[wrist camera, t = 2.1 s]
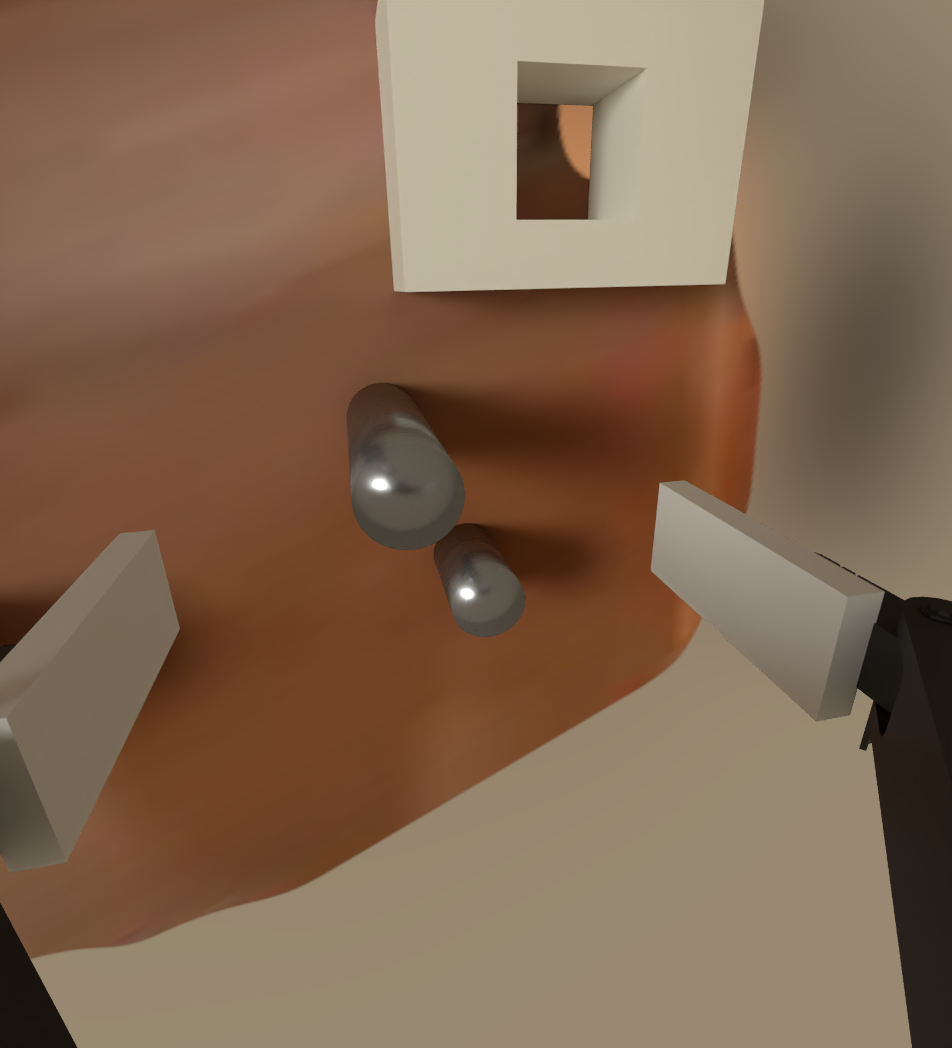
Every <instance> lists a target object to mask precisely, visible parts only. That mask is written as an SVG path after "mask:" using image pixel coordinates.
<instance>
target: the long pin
mask: <svg viewBox="0 0 952 1048" xmlns="http://www.w3.org/2000/svg"><path fill="white" fill-rule="evenodd" d="M347 431H348V448H349V465H350V482H351V499H352V508H353V512H354V515H355V518H356V520H357V522H358V524H359V525H360V527H361V528H362V530H363V531H364V532H365V533H366V534H367V535H368V536H369V537H370V538H372V539H373V540H374V541H376V542H378V543H379V544H381V545H384V546H386V547H389V548H393V549H398V550H414V549H420V548H423V547H427V546H429V545H432V544H434V543H435V542H437V541H439V540H440V539H442V538H443V537H444V536H446V535H447V534H448V533H449V532H450V531H451V530H452V528H453V527H454V526H455V524H456V523H457V521H458V520H459V517H460V515H461V513H462V510H463V506H464V500H465V491H464V484H463V480H462V477H461V475H460V473H459V471H458V469H457V467H456V466H455V464H454V463H453V461H452V460H451V458H450V456H449V455H448V453H447V452H446V450H445V449H444V447H443V446H442V444H441V443H440V441H439V439H438V438H437V436H436V435H435V433H434V432H433V430H432V429H431V427H430V425H429V424H428V422H427V421H426V419H425V418H424V416H423V415H422V413H421V411H420V410H419V408H418V407H417V405H416V404H415V402H414V401H413V399H412V398H411V396H410V395H409V394H408V393H407V392H406V391H404V390H403V389H401V388H400V387H398V386H395V385H393V384H388V383H376V384H372V385H369V386H366V387H365V388H363V389H361V390H360V391H359V392H358V393H357V394H356V395H355V396H354V397H353V399H352V400H351V402H350V404H349V407H348V411H347Z"/></svg>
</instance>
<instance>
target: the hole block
mask: <svg viewBox="0 0 952 1048" xmlns="http://www.w3.org/2000/svg"><path fill="white" fill-rule="evenodd" d="M763 6H764V0H378V4H377V11H376V19H375V29H376V43H377V57H378V71H379V85H380V99H381V114H382V128H383V142H384V156H385V170H386V185H387V199H388V213H389V227H390V241H391V256H392V270H393V284H394V291H400V292H429V291H469V290H509V289H549V288H588V287H628V286H668V285H708V284H725V283H726V275H727V268H728V261H729V254H730V246H731V239H732V232H733V223H734V216H735V210H736V203H737V195H738V187H739V181H740V173H741V166H742V159H743V152H744V144H745V137H746V130H747V123H748V115H749V108H750V101H751V93H752V85H753V79H754V72H755V64H756V57H757V49H758V42H759V35H760V27H761V21H762V13H763ZM517 103H538V104H563V105H590V106H593V122H592V142H591V143H592V144H591V162H590V163H591V164H590V183H589V203H588V220H516V202H517Z"/></svg>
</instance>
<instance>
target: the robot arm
mask: <svg viewBox="0 0 952 1048" xmlns="http://www.w3.org/2000/svg"><path fill="white" fill-rule="evenodd" d="M651 571H652V572H653V573H654V574H655V575H656V576H657V577H658V578H659V579H661V580H662V581H663V582H664V583H665V584H666V585H667V586H668V587H669V588H670V589H672V590H673V591H674V592H675V593H676V594H677V595H678V596H679V597H680V598H681V599H682V600H684V601H685V602H686V603H687V604H688V605H689V606H690V607H691V608H692V609H693V610H695V611H696V612H697V613H698V614H699V615H700V616H701V617H702V618H703V619H704V620H706V621H707V622H708V623H709V624H710V625H711V626H712V627H713V628H714V629H716V631H718V632H719V633H720V634H721V635H722V636H723V637H724V638H725V639H727V641H729V642H730V643H731V644H732V645H733V646H734V647H735V648H736V649H737V650H739V651H740V652H741V653H742V654H743V655H744V656H745V657H746V658H747V659H748V660H749V661H750V662H752V663H753V664H754V665H755V666H756V667H757V668H758V669H759V670H760V671H761V672H763V673H764V674H765V675H766V676H767V677H768V678H769V679H770V680H771V681H773V682H774V683H775V684H776V685H777V686H778V687H779V688H780V689H781V690H782V691H783V692H785V693H786V694H787V695H788V696H789V697H790V698H791V699H792V700H793V701H794V702H795V703H797V704H798V705H799V706H800V707H801V708H802V709H803V710H804V711H805V712H806V713H808V714H809V715H810V716H811V717H812V718H813V719H814V720H815V721H821V720H826V719H831V718H837V717H842V716H847V715H850V713H851V710H852V706H853V703H854V699H855V696H856V692H857V688H858V689H859V690H861V691H862V692H863V693H864V694H866V695H867V696H869V697H870V698H871V699H872V700H874V701H873V704H872V708H871V711H870V714H869V718H868V721H867V724H866V728H865V731H864V734H863V738H862V741H861V745H860V749H862V750H865V751H866V749H867V746H868V744H870V743H872V747H873V755H874V762H875V770H876V778H877V785H878V793H879V800H880V808H881V815H882V823H883V831H884V838H885V846H886V853H887V861H888V868H889V876H890V884H891V891H892V898H893V906H894V914H895V921H896V928H897V936H898V943H899V952H900V959H901V967H902V975H903V982H904V989H905V997H906V1005H907V1012H908V1019H909V1028H910V1035H911V1043H912V1048H952V601H948V600H943V599H939V598H930V597H912V598H909V599H907V600H903V599H901V598H899V597H897V596H895V595H894V594H892V593H890V592H888V591H887V590H885V589H883V588H881V587H879V586H877V585H876V584H874V583H872V582H870V581H868V580H867V579H865V578H863V577H861V576H859V575H858V576H856V575H855V573H854V572H852V571H850V570H848V569H847V568H845V567H840V565H839V564H838V563H836V562H834V561H832V560H830V559H828V558H827V557H825V556H823V555H821V554H818V553H815V552H812V551H811V550H809V549H807V548H805V547H803V546H802V545H800V544H798V543H796V542H794V541H793V540H791V539H789V538H787V537H785V536H784V535H782V534H780V533H778V532H776V531H775V530H773V529H771V528H769V527H767V526H766V525H764V524H762V523H760V522H758V521H757V520H755V519H753V518H751V517H750V516H748V515H746V514H744V513H742V512H741V511H739V510H737V509H735V508H733V507H732V506H730V505H728V504H726V503H724V502H723V501H721V500H719V499H717V498H715V497H714V496H712V495H710V494H708V493H706V492H705V491H703V490H701V489H699V488H697V487H696V486H694V485H692V484H690V483H688V482H687V481H685V480H684V481H674V482H663V483H660V486H659V496H658V506H657V515H656V525H655V534H654V544H653V553H652V563H651ZM179 630H180V628H179V624H178V620H177V616H176V612H175V608H174V604H173V600H172V596H171V592H170V588H169V585H168V581H167V577H166V573H165V569H164V565H163V561H162V557H161V553H160V549H159V545H158V542H157V538H156V534H155V530H152V531H141V532H130V533H120V534H119V535H118V536H117V537H116V538H115V539H114V540H113V541H112V542H111V543H110V544H109V545H108V547H107V548H106V549H105V550H104V551H103V552H102V553H101V554H100V555H99V556H98V557H97V558H96V559H95V561H94V562H93V563H92V564H91V565H90V566H89V567H88V568H87V569H86V570H85V571H84V572H83V574H82V575H81V576H80V577H79V578H78V579H77V580H76V581H75V582H74V583H73V584H72V585H71V586H70V588H69V589H68V590H67V591H66V592H65V593H64V594H63V595H62V596H61V597H60V598H59V599H58V601H57V602H56V603H55V604H54V605H53V606H52V607H51V608H50V609H49V610H48V611H47V612H46V613H45V615H44V616H43V617H42V618H41V619H40V620H39V621H38V622H37V623H36V624H35V625H34V626H33V628H32V629H31V630H30V631H29V632H28V633H27V634H26V635H25V636H24V637H23V638H22V639H21V640H20V642H19V643H18V644H11V645H4V646H2V647H1V648H0V853H1V855H2V857H3V859H4V862H5V864H6V866H7V868H8V870H9V872H10V873H11V872H16V871H22V870H27V869H32V868H38V867H43V866H48V865H54V864H59V863H64V862H67V860H68V858H69V856H70V854H71V852H72V850H73V848H74V846H75V844H76V842H77V840H78V838H79V836H80V834H81V831H82V829H83V827H84V825H85V823H86V821H87V819H88V817H89V815H90V813H91V811H92V809H93V807H94V805H95V803H96V801H97V799H98V796H99V794H100V792H101V790H102V788H103V786H104V784H105V782H106V780H107V778H108V776H109V774H110V772H111V770H112V768H113V766H114V764H115V761H116V759H117V757H118V755H119V753H120V751H121V749H122V747H123V745H124V743H125V741H126V739H127V737H128V735H129V733H130V731H131V729H132V726H133V724H134V722H135V720H136V718H137V716H138V714H139V712H140V710H141V708H142V706H143V704H144V702H145V700H146V698H147V696H148V694H149V691H150V689H151V687H152V685H153V683H154V681H155V679H156V677H157V675H158V673H159V671H160V669H161V667H162V665H163V663H164V661H165V659H166V657H167V654H168V652H169V650H170V648H171V646H172V644H173V642H174V640H175V638H176V636H177V634H178V632H179ZM0 1048H77V1046H76V1044H75V1043H74V1041H73V1039H72V1037H71V1035H70V1033H69V1031H68V1029H67V1028H66V1026H65V1024H64V1022H63V1020H62V1018H61V1016H60V1014H59V1012H58V1010H57V1009H56V1007H55V1005H54V1003H53V1001H52V999H51V997H50V995H49V994H48V992H47V990H46V988H45V986H44V984H43V983H42V980H41V979H40V977H39V975H38V973H37V971H36V969H35V967H34V965H33V963H32V962H31V960H30V958H29V956H28V954H27V952H26V950H25V948H24V947H23V945H22V943H21V941H20V939H19V937H18V935H17V933H16V932H15V930H14V928H13V926H12V924H11V922H10V920H9V918H8V917H7V915H6V913H5V911H4V909H3V907H2V905H1V903H0Z"/></svg>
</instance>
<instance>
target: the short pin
mask: <svg viewBox="0 0 952 1048" xmlns="http://www.w3.org/2000/svg"><path fill="white" fill-rule="evenodd" d="M434 560H435V564H436V567H437V570H438V572H439V575H440V578H441V581H442V584H443V587H444V590H445V593H446V596H447V599H448V601H449V604H450V607H451V610H452V613H453V616H454V619H455V621H456V623H457V624H458V626H459V627H460V628H461V629H462V630H464V631H465V632H467V633H469V634H471V635H474V636H478V637H490V636H495V635H498V634H501V633H503V632H505V631H507V630H508V629H509V628H511V627H512V626H513V625H514V624H515V623H516V622H517V621H518V620H519V618H520V617H521V615H522V613H523V610H524V607H525V592H524V590H523V587H522V586H521V584H520V582H519V581H518V579H517V577H516V576H515V574H514V572H513V571H512V569H511V567H510V566H509V564H508V562H507V561H506V559H505V557H504V556H503V554H502V553H501V551H500V549H499V548H498V546H497V544H496V543H495V541H494V539H493V538H492V536H491V535H490V533H489V532H488V531H487V530H486V529H484V528H483V527H481V526H479V525H476V524H469V523H465V524H459V525H456V526H454V527H453V528H452V530H451V531H450V532H449V533H448V534H447V535H446V536H444V537H443V538H442V539H440V540H439V541H437V543H436V545H435V548H434Z"/></svg>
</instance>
